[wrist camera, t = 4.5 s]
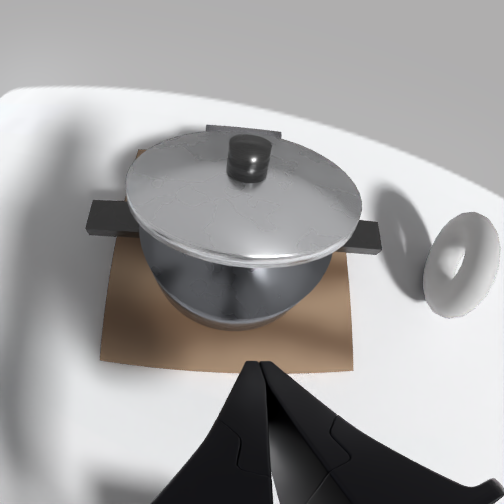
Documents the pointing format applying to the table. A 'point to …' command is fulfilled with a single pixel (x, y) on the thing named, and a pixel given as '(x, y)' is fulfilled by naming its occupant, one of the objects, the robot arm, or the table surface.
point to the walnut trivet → (219, 341)
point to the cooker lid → (243, 198)
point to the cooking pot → (224, 274)
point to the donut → (471, 271)
